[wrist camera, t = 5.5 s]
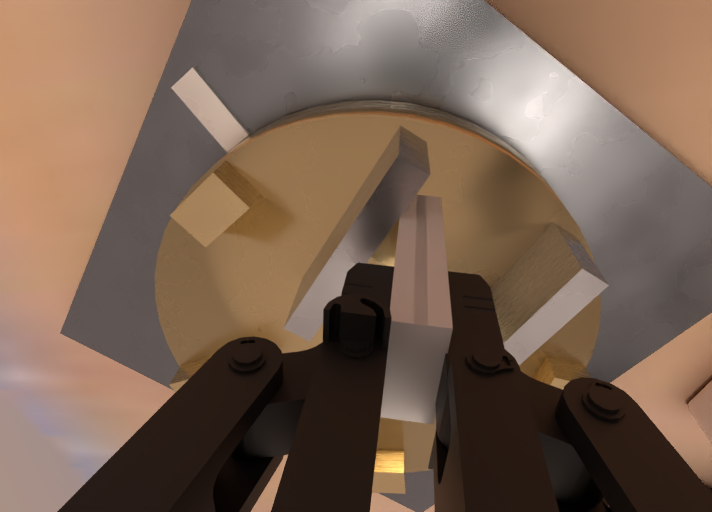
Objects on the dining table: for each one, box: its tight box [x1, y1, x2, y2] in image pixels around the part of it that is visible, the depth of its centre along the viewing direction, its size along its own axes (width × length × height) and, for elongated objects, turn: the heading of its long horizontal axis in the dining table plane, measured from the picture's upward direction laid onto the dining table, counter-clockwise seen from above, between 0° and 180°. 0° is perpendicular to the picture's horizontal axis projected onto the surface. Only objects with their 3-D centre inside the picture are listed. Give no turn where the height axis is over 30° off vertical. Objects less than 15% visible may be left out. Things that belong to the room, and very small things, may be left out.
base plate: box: [60, 0, 712, 512], centre depth 22 cm, size 24×24×2 cm
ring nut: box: [155, 100, 609, 494], centre depth 19 cm, size 18×18×5 cm
